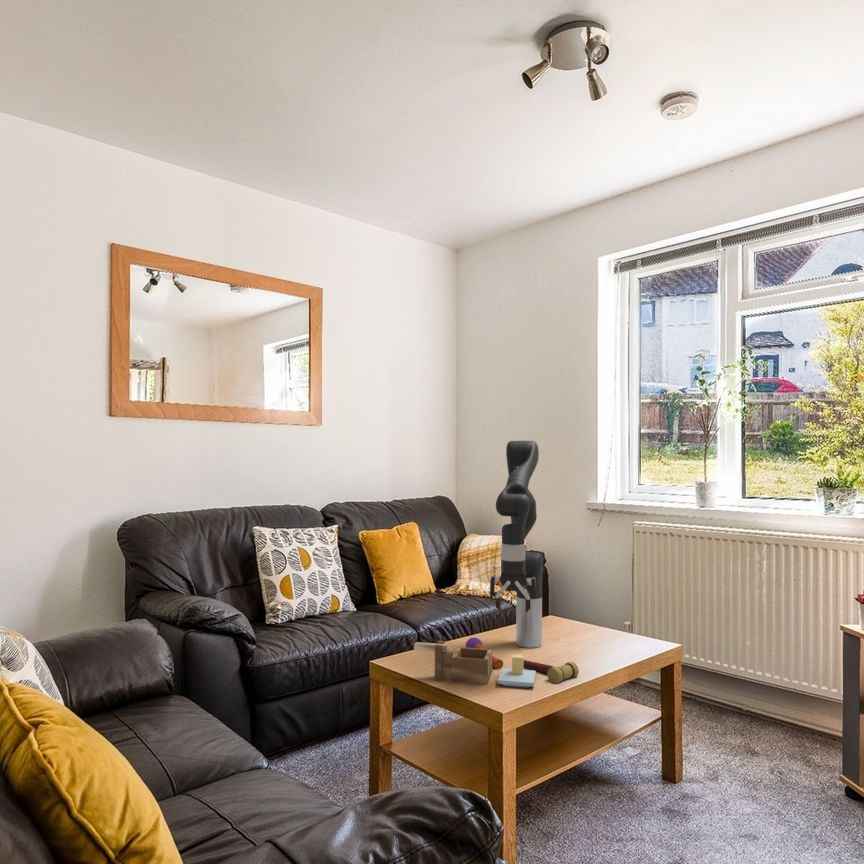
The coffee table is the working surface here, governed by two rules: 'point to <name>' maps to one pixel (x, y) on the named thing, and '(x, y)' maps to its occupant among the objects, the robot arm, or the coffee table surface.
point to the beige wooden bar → (429, 646)
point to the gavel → (554, 670)
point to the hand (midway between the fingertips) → (513, 610)
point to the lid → (517, 674)
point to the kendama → (478, 644)
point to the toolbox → (463, 664)
